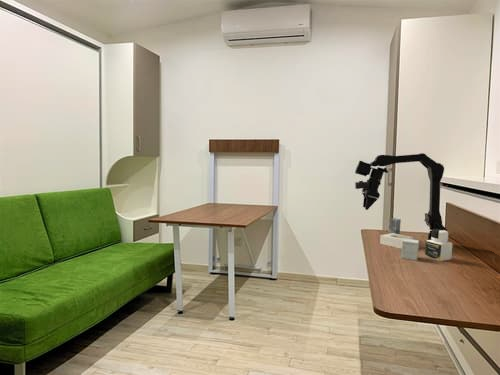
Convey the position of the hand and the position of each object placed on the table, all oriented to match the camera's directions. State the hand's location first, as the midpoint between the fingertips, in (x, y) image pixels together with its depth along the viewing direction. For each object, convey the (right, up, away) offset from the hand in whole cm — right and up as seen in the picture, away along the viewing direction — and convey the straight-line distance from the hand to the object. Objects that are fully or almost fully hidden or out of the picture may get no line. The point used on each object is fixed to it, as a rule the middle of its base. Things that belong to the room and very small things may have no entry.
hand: (365, 208), depth 177 cm
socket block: (+12, -17, -10) cm, 23 cm away
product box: (+8, -19, -32) cm, 38 cm away
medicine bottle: (+20, -19, -31) cm, 42 cm away
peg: (+17, -16, +5) cm, 24 cm away
